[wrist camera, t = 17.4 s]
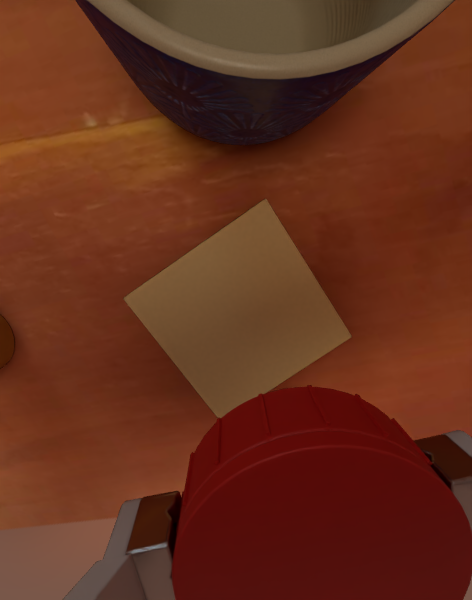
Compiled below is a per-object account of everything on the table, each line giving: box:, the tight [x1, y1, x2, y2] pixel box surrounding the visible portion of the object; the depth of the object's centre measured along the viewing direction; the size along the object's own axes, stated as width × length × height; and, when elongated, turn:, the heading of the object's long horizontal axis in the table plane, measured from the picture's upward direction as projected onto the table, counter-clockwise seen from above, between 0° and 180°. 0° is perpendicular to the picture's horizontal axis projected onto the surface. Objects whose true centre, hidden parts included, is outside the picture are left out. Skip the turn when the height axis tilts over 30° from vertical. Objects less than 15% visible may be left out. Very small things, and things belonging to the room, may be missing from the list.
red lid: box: [172, 385, 472, 600], centre depth 8 cm, size 7×7×2 cm
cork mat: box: [123, 199, 352, 418], centre depth 27 cm, size 14×14×1 cm
